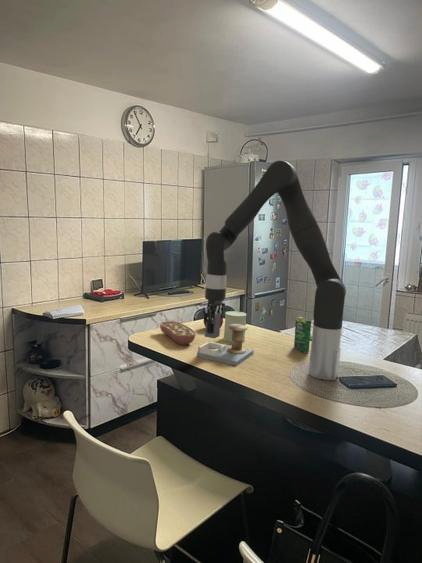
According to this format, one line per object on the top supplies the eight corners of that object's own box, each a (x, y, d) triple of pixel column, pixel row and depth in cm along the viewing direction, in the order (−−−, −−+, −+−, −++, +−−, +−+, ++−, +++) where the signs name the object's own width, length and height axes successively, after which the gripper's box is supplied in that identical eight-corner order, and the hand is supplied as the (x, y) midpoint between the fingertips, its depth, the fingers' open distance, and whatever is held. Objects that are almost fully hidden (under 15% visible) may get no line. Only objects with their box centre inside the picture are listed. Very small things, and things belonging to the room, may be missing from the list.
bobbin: (248, 350, 158) (250, 326, 157) (241, 355, 152) (243, 329, 151) (231, 346, 161) (233, 323, 160) (224, 351, 155) (225, 326, 154)
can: (248, 339, 178) (250, 312, 177) (238, 344, 171) (240, 316, 169) (230, 335, 183) (231, 309, 181) (219, 339, 175) (221, 312, 174)
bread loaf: (156, 333, 180) (156, 322, 180) (177, 331, 185) (177, 320, 184) (178, 349, 161) (178, 336, 160) (200, 346, 165) (201, 334, 165)
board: (253, 353, 159) (253, 345, 159) (236, 365, 145) (237, 356, 145) (216, 346, 166) (216, 337, 166) (196, 356, 152) (197, 347, 152)
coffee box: (292, 347, 171) (295, 316, 169) (299, 346, 172) (301, 316, 170) (302, 353, 164) (305, 321, 162) (309, 352, 165) (312, 320, 163)
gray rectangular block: (219, 336, 155) (221, 308, 153) (214, 338, 151) (216, 310, 150) (209, 334, 157) (211, 306, 155) (204, 336, 153) (206, 308, 152)
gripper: (216, 290, 143) (213, 338, 146) (233, 285, 156) (230, 329, 158) (197, 287, 147) (194, 334, 149) (215, 283, 159) (212, 326, 162)
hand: (212, 331), depth 154 cm, fingers closed on gray rectangular block, 4 cm apart
